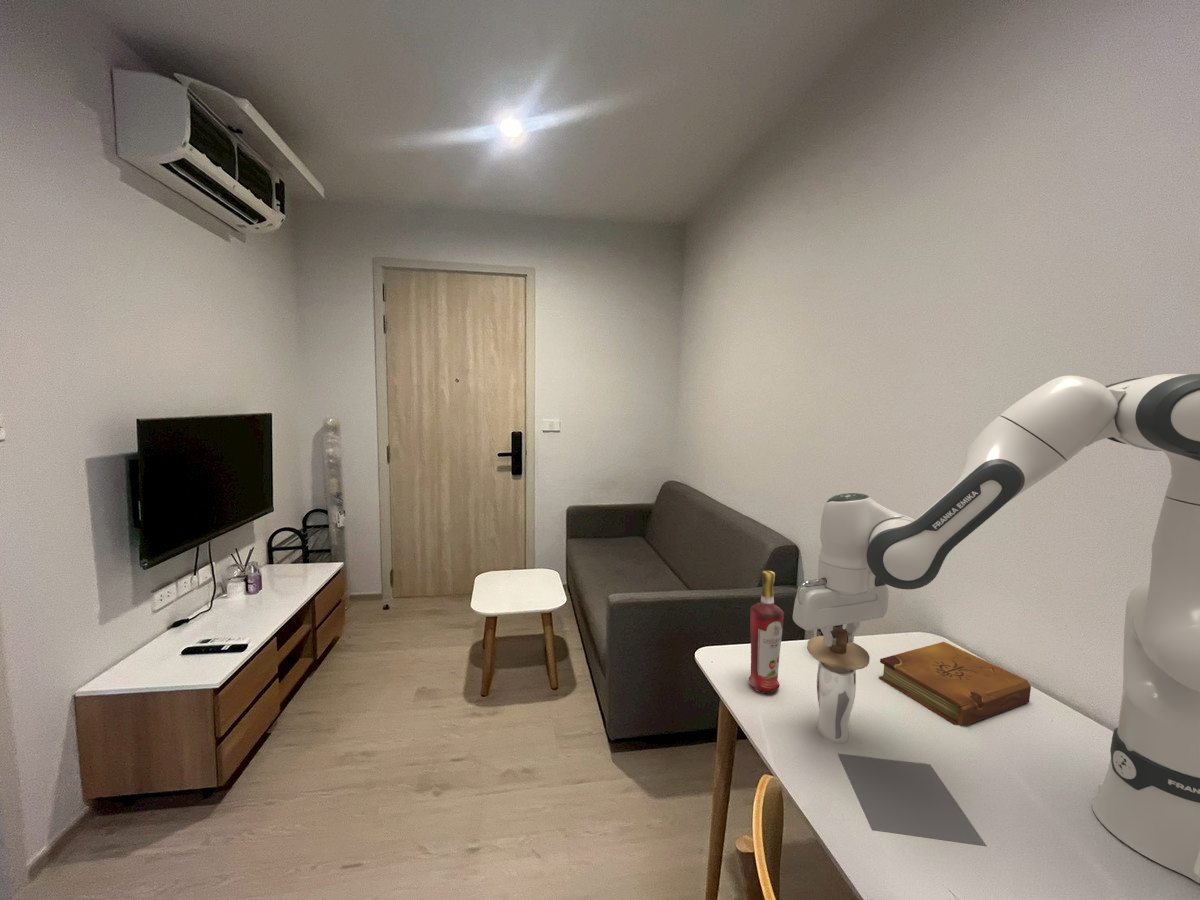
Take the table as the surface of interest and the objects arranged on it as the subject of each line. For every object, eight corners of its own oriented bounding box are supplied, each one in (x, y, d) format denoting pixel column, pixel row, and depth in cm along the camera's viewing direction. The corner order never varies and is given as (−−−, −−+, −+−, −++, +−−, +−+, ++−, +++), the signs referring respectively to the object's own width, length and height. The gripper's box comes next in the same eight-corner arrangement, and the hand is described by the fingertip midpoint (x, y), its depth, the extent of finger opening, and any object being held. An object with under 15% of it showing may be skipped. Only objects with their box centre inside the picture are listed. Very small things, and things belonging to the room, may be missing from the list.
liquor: (768, 676, 114) (773, 565, 111) (786, 694, 107) (792, 577, 104) (741, 680, 113) (745, 568, 110) (758, 699, 106) (763, 579, 102)
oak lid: (856, 641, 97) (857, 619, 97) (879, 672, 86) (881, 647, 86) (800, 637, 99) (801, 615, 98) (816, 666, 88) (818, 642, 87)
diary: (961, 732, 96) (963, 706, 96) (878, 681, 114) (880, 658, 113) (1028, 705, 104) (1031, 681, 104) (942, 661, 122) (944, 640, 121)
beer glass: (857, 749, 90) (862, 677, 89) (818, 744, 92) (823, 672, 90) (846, 725, 97) (850, 657, 95) (810, 720, 98) (814, 653, 97)
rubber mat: (930, 767, 86) (930, 764, 86) (986, 849, 70) (986, 845, 70) (837, 756, 89) (837, 753, 89) (871, 833, 73) (872, 829, 73)
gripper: (811, 588, 85) (806, 660, 86) (896, 575, 91) (891, 643, 92) (787, 575, 91) (783, 643, 92) (869, 564, 97) (864, 628, 98)
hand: (838, 643), depth 92 cm, fingers closed on oak lid, 3 cm apart
